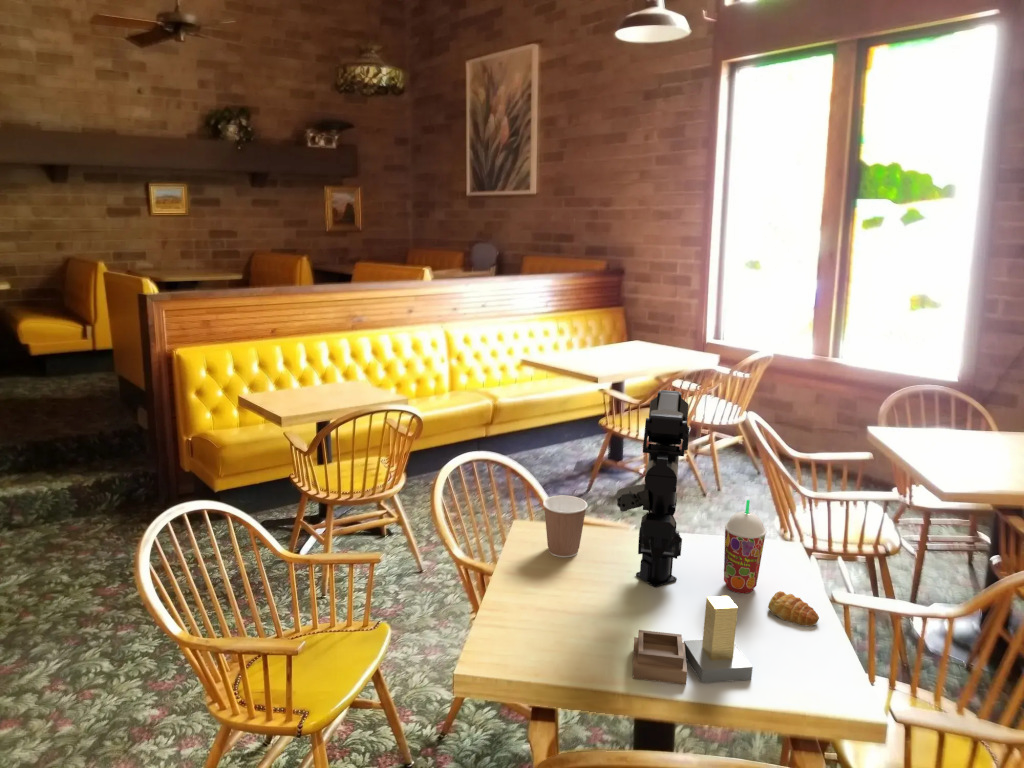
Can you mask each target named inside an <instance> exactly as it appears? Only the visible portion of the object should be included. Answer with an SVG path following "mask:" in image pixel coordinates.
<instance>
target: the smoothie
mask: <svg viewBox="0 0 1024 768" xmlns="http://www.w3.org/2000/svg"><path fill="white" fill-rule="evenodd" d="M750 501H751V499H746V504H745V510H742V511H738V512H735V513H734V514H733V515H731V516H730V517H729V519H728V521H727V522H726V523H725V525H724V528H725V529H724V553H723V554H724V557H723V558H724V559H723V561H724V562H723V564H724V565H723V581H724V583H725V586H726V588H727V589H728V590H729V591H732V592H734V593H737V594H743V593H744V594H750V593H752V592H753V591H754V590H755V588H756V587H757V584H758V578H759V573H760V566H761V561H762V556H763V549H764V545H765V539H766V534H767V529H766V527H765V526H764V523H763V522H762V519H761V518H760V517H759V516H758V515H756V514H755V513H753V512H751V511H750V505H751V504H750V503H751V502H750Z"/></svg>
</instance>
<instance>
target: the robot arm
mask: <svg viewBox="0 0 1024 768" xmlns="http://www.w3.org/2000/svg"><path fill="white" fill-rule="evenodd" d="M688 417H689V403H688V402H687V401H686V400H685V399H684V398H682V392H680V391H678V390H667V389H666V390H665V389H661V390H658V391H657V396H655V397H654V398H653V399H652V400H650V402H649V412H648V417H646V418H645V421H644V422H645V424H644V425H645V426H644V434H643V445H642V454H643V453H644V454H645V453H646V454H648V458H647V460H648V461H647V464H646V469H645V475H644V483H643V484H642V483H641V484H635V485H631V486H626V487H621V488H619V489H618V490H617V491H616V495H615V499H616V501H617V507H618V508H619V510H620V512H623V513H624V512H627V511H629V510H633V509H638V508H640V507H642V511H648V512H646V513H645V514H644V515H643V516H641V521H640V527H639V529H638V530H639V533H638V545H637V547H638V549H637V555H641V559H640V565H639V567H640V569H639V571H637V572H636V573H635V576H636V577H638V578H639V579H641V580H642V581H644V582H646V583H647V584H649V585H651V586H652V587H655V588H658V587H661V586H663V585H667V584H670V583H673V582H676V581H677V577H676V576H674V575H673V562H674V559H675V560H678V557H680V556H681V554H682V545H683V542H682V541H683V538H682V537H681V534H680V531H677V521H676V519H675V516H674V515H675V512H676V509H677V508H676V507H677V502H678V501H677V500H678V493H677V486H678V485H677V484H678V476H679V475H678V473H679V471H678V470H679V459H680V457H685V451H689V440H690V438H689V437H690V426H689V425H688ZM647 444H648V445H647ZM680 447H681V448H680Z"/></svg>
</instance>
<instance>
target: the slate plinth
mask: <svg viewBox="0 0 1024 768" xmlns="http://www.w3.org/2000/svg"><path fill="white" fill-rule="evenodd" d="M683 643H685V654H686V662H688V664H689V665H690V667H691V669H692V670H693V672H694V673H695V675H696V677H697V678H698V679H699V681H700V682H701V684H708V683H720V682H722V683H723V682H736V681H750V680H751V681H752V677H753V676H752V674H753V665H752V664H751V663H750V662H749V660H748V659H747V658H746V656H745V655H744V654H743V652H742V651H741V649H740V648H739V647H738V646H737V644H736V643H735V642H734V651H733V659H728V660H714V661H711V660H710V659H709V657H708V656H707V654H706V653H705V651H704V650H703V648H702V643H703V639H695V640H694V639H693V640H683Z"/></svg>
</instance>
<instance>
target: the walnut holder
mask: <svg viewBox="0 0 1024 768" xmlns="http://www.w3.org/2000/svg"><path fill="white" fill-rule="evenodd" d="M637 634H638V635H637V636H638V637H636V636H634V637H633V650H632V651H633V652H632V653H633V654H632V657H633V658H632V679H634V680H642V681H652V682H659V683H668V684H675V685H676V684H677V685H684V686H686V685H687V678H688V677H687V676H688V668H687V666H688V665H687V659H686V654H685V643H684V641H683V637H682V634H680V633H674V632H673V633H671V632H663V631H655V630H654V631H652V630H643V629H639V630H638V633H637Z"/></svg>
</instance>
